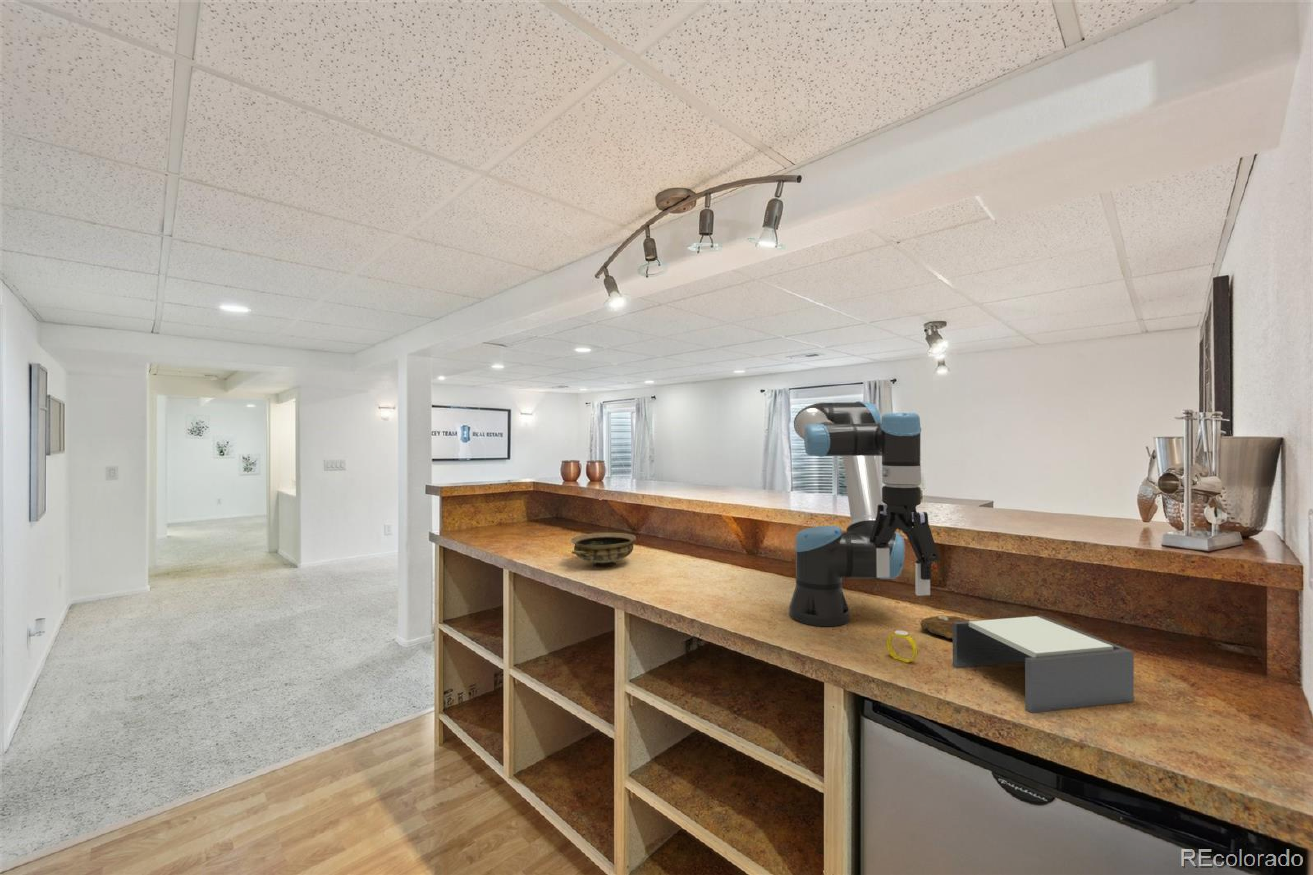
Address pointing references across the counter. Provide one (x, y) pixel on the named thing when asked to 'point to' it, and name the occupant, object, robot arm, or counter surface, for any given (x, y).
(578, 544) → the ceramic bowl
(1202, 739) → the counter surface
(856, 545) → the robot arm
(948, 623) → the decorative rock
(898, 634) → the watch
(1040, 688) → the stand
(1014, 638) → the trapdoor
